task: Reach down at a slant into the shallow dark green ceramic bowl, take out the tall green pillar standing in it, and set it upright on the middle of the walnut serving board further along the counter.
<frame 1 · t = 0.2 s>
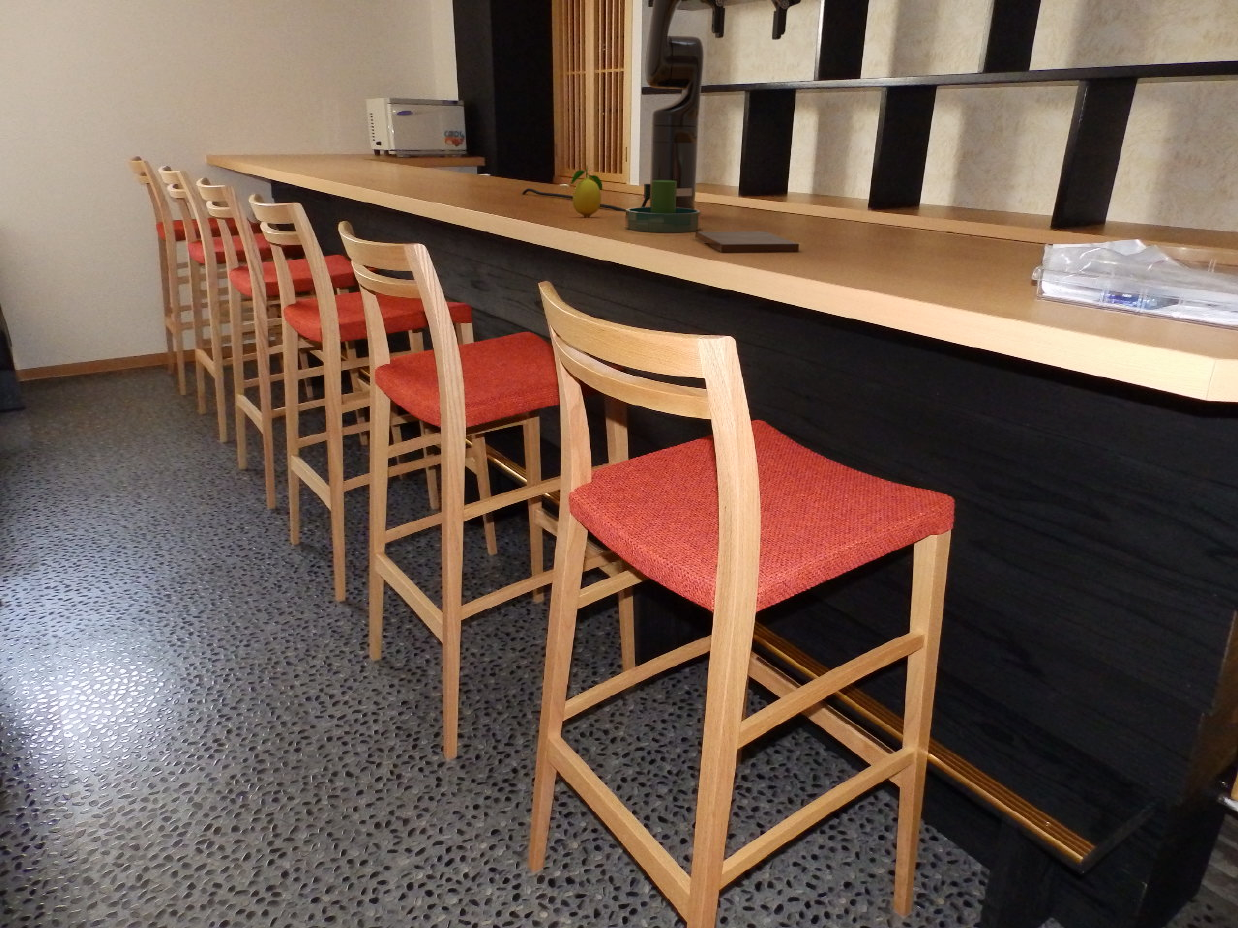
hand: (747, 38, 121), 29 cm above the table, tool pointing down, fingers open, 8 cm apart
tall green pillar: (662, 228, 149), resting on bowl
board: (744, 245, 133), on the table
bowl: (662, 230, 150), on the table
lemon: (586, 219, 167), on the table
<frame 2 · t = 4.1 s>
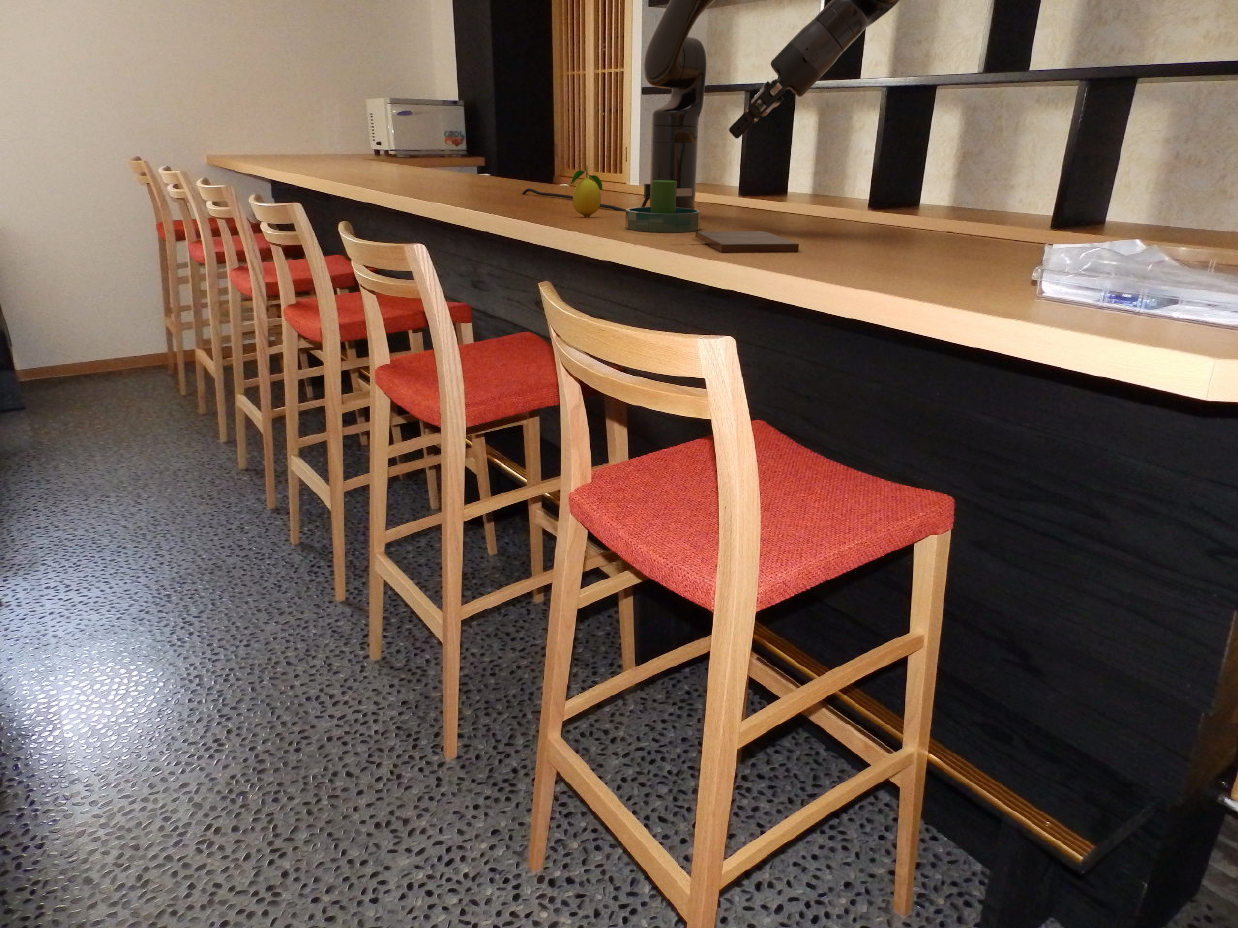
hand: (732, 134, 142), 16 cm above the table, tool tilted 45°, fingers open, 8 cm apart
nothing on the table moved.
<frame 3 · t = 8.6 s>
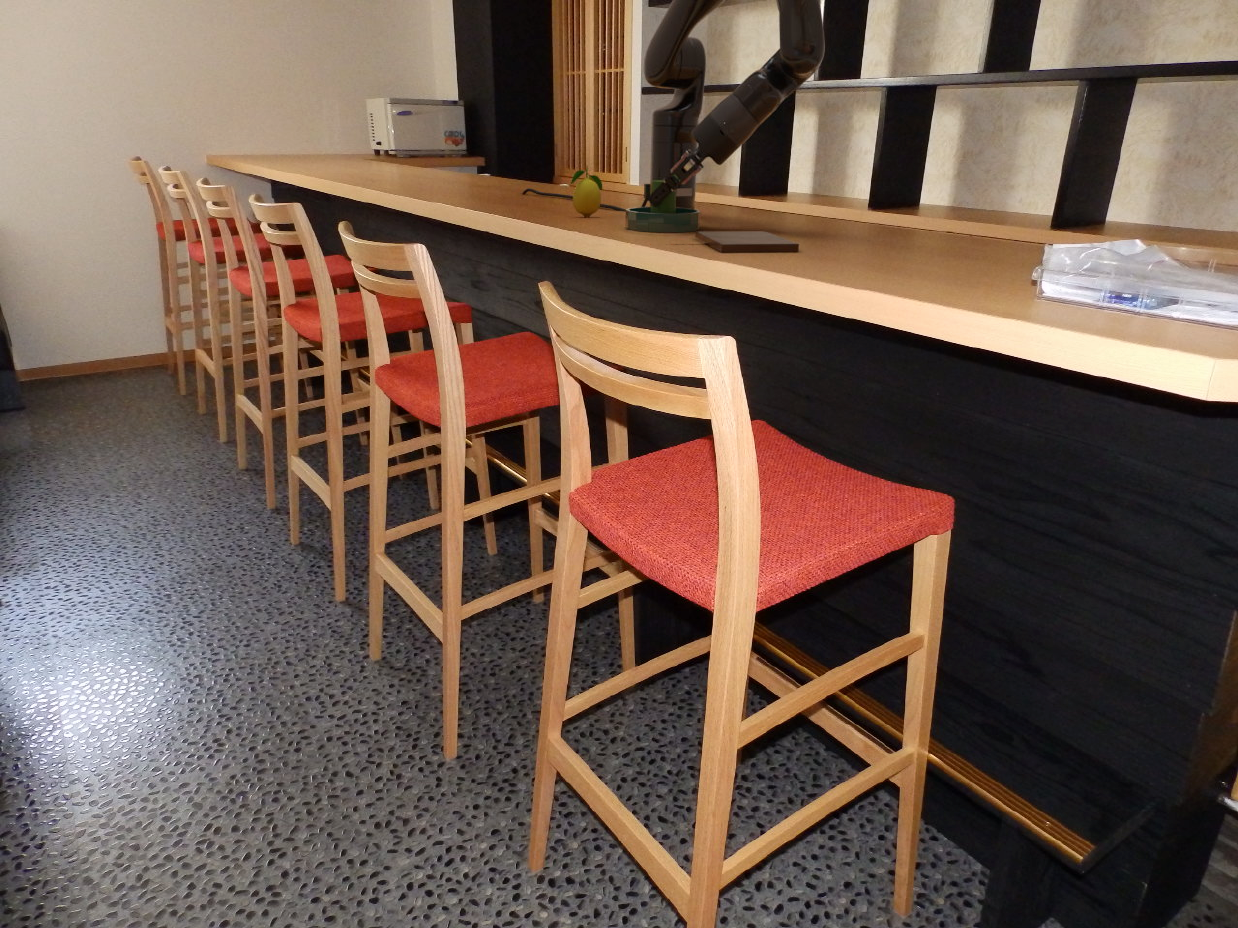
hand: (652, 201, 148), 5 cm above the table, tool tilted 45°, fingers closed on tall green pillar, 4 cm apart
tall green pillar: (662, 228, 149), resting on bowl, touching gripper
everything else where it was.
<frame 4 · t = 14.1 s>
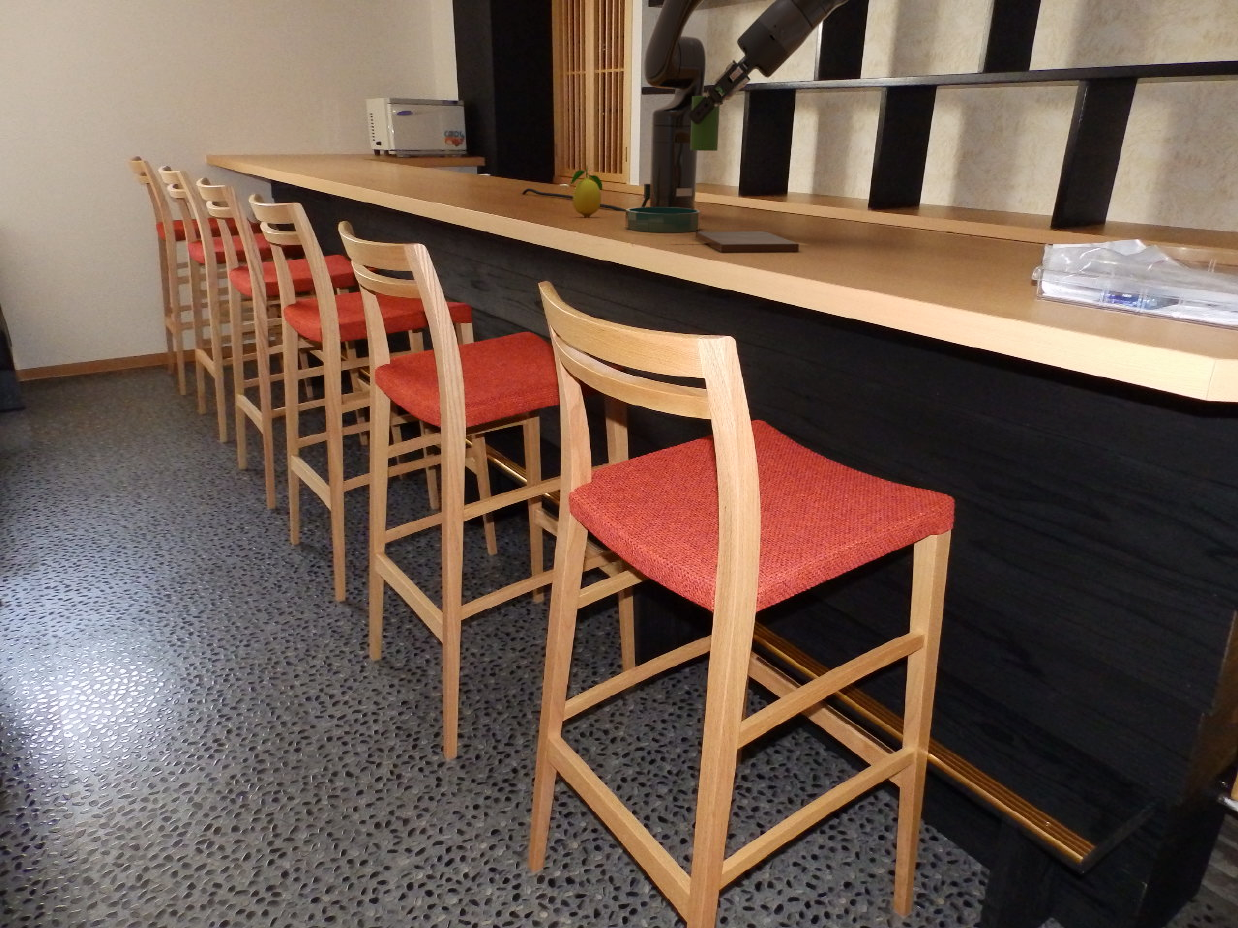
hand: (693, 120, 135), 18 cm above the table, tool tilted 45°, fingers closed on tall green pillar, 4 cm apart
tall green pillar: (703, 150, 136), point 14 cm above the table, touching gripper
everything else where it was.
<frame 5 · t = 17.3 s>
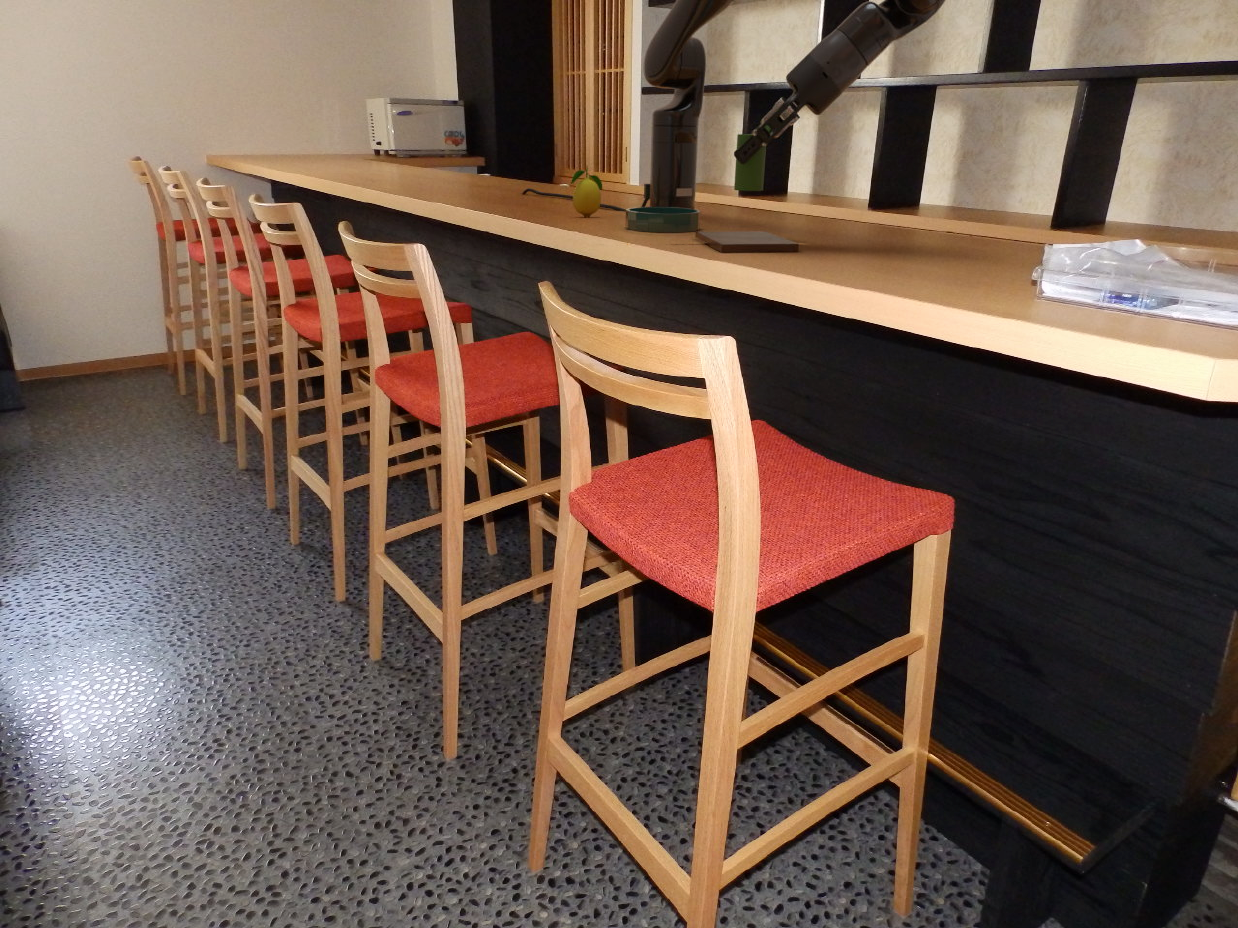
hand: (737, 159, 128), 13 cm above the table, tool tilted 45°, fingers closed on tall green pillar, 4 cm apart
tall green pillar: (748, 190, 129), point 8 cm above the table, touching gripper
everything else where it was.
when the fingers open (6 cm above the table, at t = 19.7 s): tall green pillar stays where it is, resting on board.
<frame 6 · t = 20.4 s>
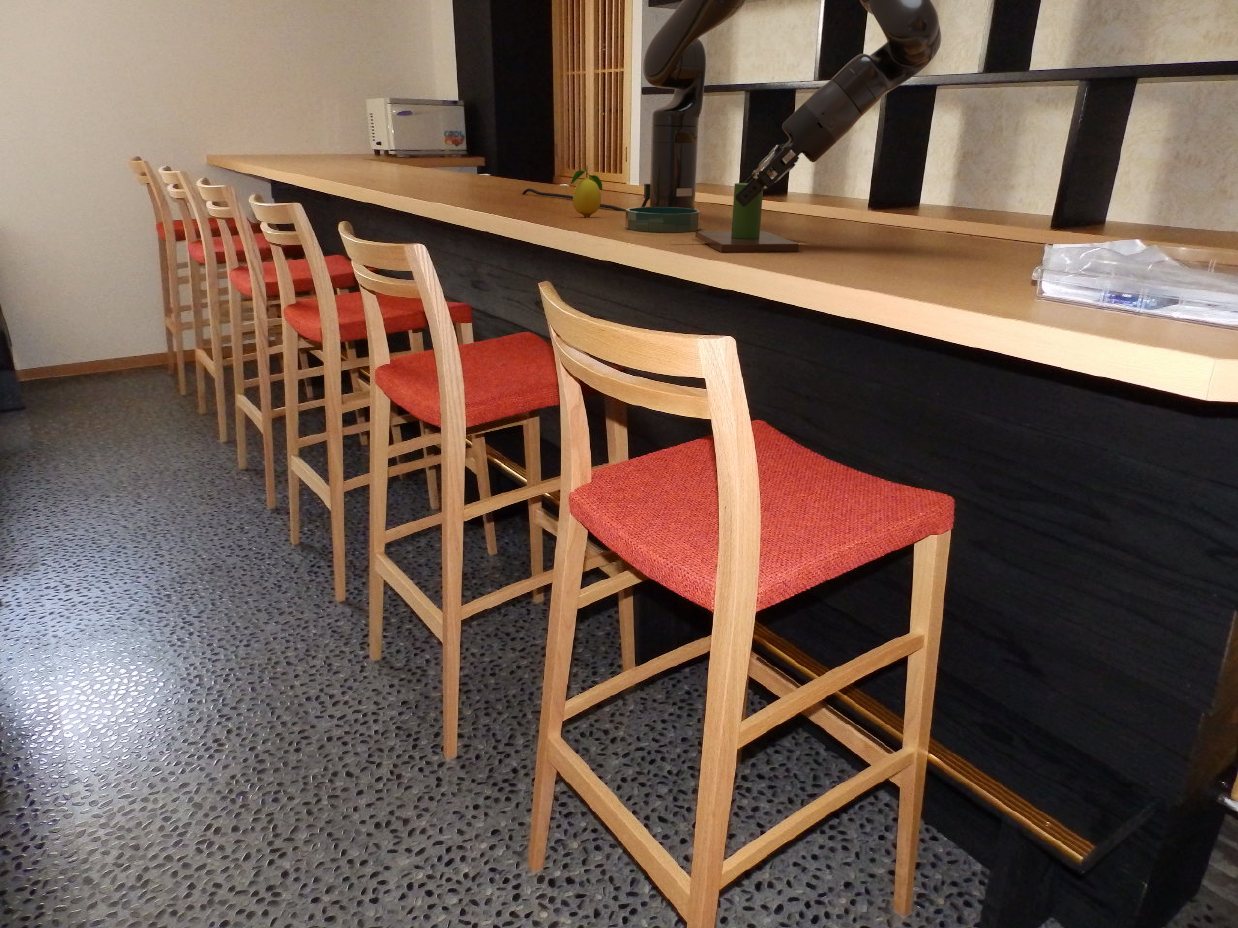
hand: (738, 200, 130), 7 cm above the table, tool tilted 45°, fingers open, 8 cm apart
tall green pillar: (745, 237, 132), point 1 cm above the table, touching board
everything else where it was.
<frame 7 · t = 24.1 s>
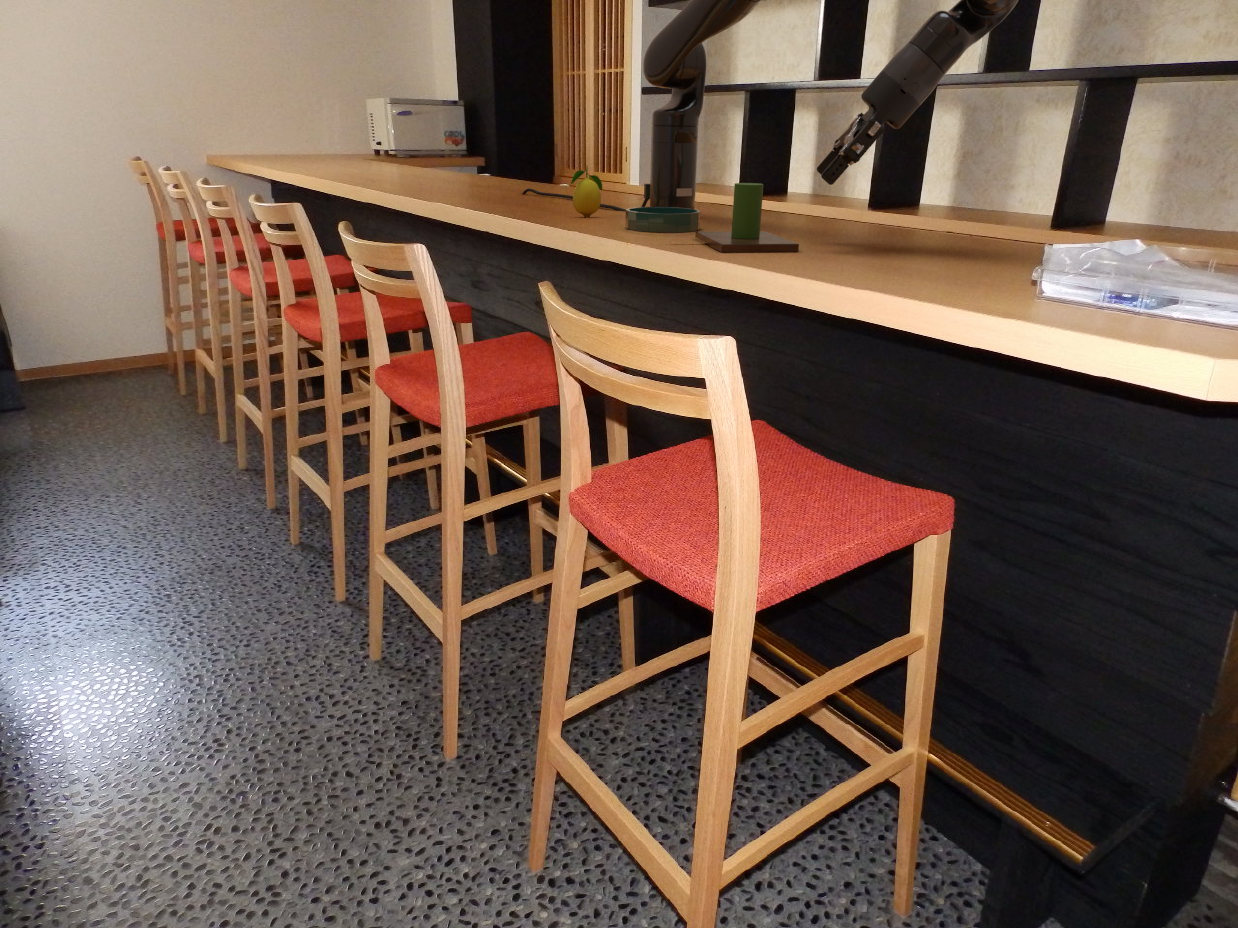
hand: (823, 177, 128), 10 cm above the table, tool tilted 40°, fingers open, 8 cm apart
nothing on the table moved.
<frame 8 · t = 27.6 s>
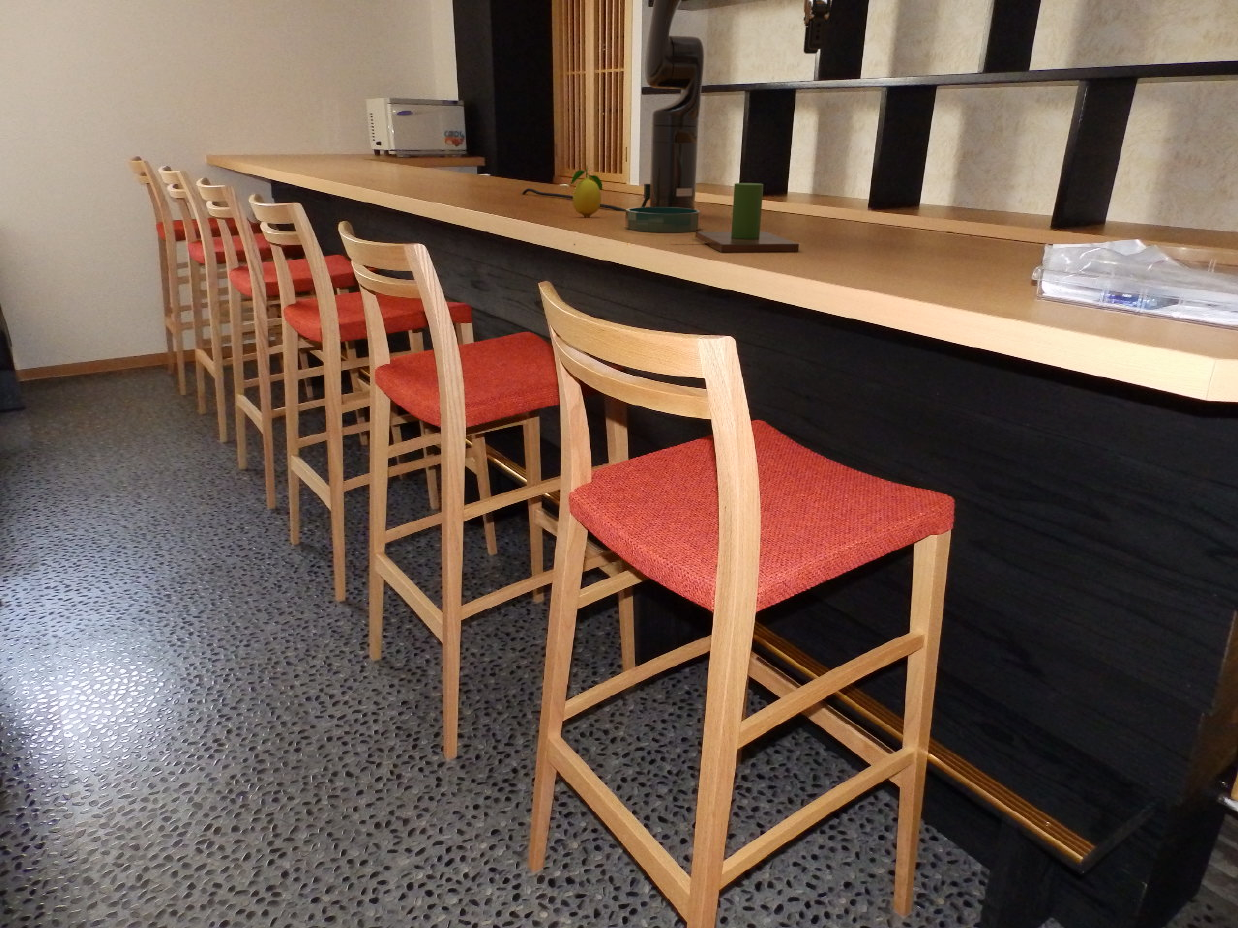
hand: (813, 51, 127), 28 cm above the table, tool pointing down, fingers open, 8 cm apart
nothing on the table moved.
at the end: tall green pillar inside the target area on the board (0.1 cm from its centre), point 1.2 cm above the board's base; tall green pillar touching board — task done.
